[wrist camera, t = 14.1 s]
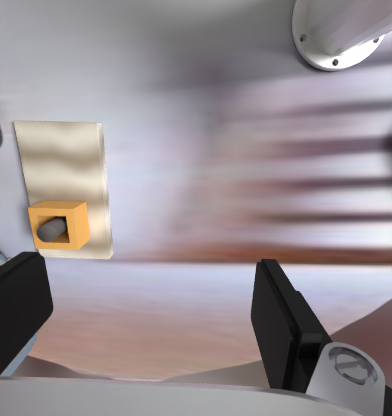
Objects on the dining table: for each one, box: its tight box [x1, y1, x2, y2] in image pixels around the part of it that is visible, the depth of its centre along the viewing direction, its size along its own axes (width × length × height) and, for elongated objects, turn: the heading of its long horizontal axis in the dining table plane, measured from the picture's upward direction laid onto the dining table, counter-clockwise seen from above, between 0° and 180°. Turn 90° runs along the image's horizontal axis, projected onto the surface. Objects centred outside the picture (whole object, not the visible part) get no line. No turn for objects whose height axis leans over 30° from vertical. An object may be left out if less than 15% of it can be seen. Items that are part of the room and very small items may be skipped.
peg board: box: [14, 121, 113, 259], centre depth 34 cm, size 22×12×8 cm, turn 179°
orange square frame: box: [28, 201, 90, 250], centre depth 35 cm, size 6×6×4 cm
